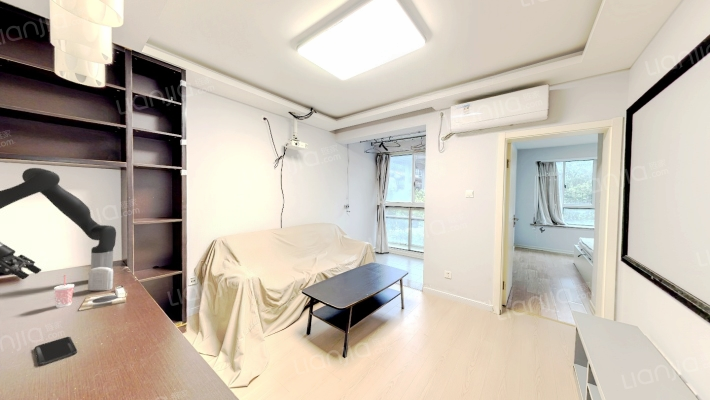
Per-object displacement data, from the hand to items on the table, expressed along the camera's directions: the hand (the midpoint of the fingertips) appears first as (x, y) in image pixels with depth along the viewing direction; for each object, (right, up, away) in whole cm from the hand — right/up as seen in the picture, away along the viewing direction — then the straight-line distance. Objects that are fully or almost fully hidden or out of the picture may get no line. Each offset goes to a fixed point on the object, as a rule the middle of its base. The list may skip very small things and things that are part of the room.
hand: (33, 274), depth 108 cm
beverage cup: (+8, -16, +5) cm, 19 cm away
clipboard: (+21, -16, +12) cm, 29 cm away
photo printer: (+5, -16, +24) cm, 29 cm away
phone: (+44, -18, -27) cm, 55 cm away
